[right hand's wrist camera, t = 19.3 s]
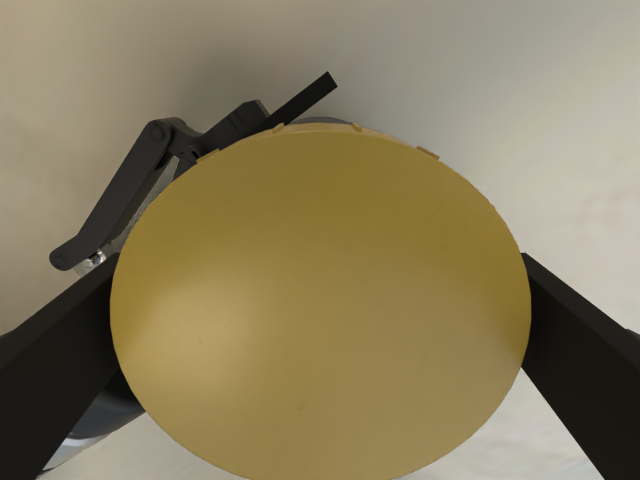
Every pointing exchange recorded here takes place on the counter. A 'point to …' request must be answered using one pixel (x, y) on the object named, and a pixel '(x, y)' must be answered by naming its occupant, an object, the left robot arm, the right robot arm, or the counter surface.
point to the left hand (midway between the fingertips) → (390, 171)
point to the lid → (320, 306)
